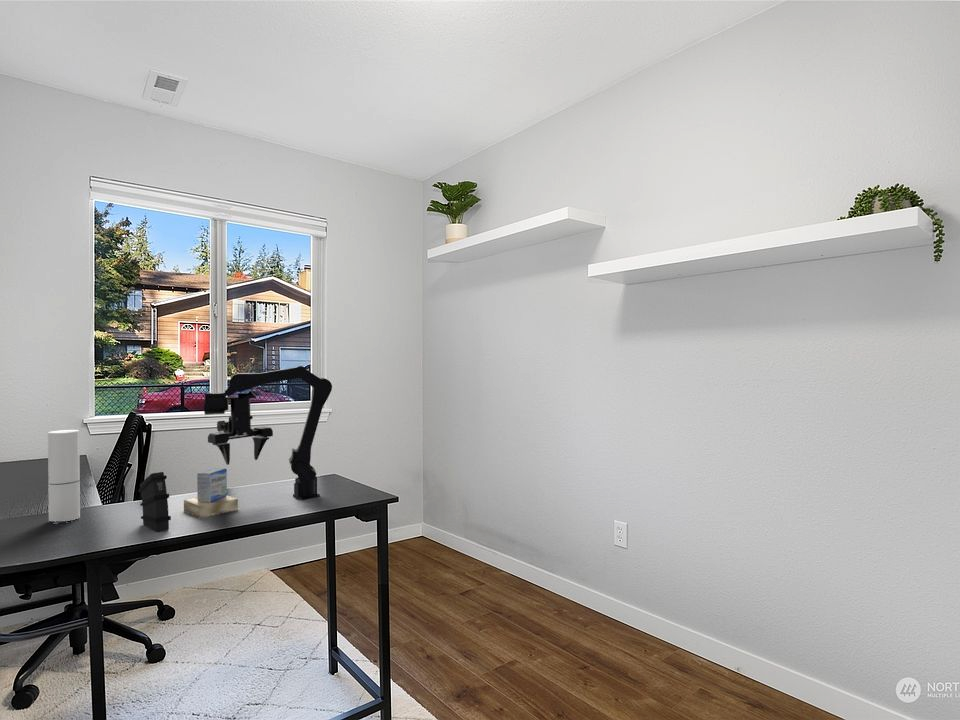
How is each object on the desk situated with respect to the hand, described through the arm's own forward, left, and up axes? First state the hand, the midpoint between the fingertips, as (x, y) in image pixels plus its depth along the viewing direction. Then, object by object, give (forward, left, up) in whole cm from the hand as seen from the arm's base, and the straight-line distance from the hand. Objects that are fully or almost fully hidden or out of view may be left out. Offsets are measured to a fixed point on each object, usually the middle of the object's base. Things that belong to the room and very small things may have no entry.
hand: (242, 462), depth 180 cm
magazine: (+28, +7, -13) cm, 31 cm away
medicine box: (+10, +3, -10) cm, 14 cm away
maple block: (+11, +3, -13) cm, 17 cm away
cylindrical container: (+43, -18, -13) cm, 48 cm away
